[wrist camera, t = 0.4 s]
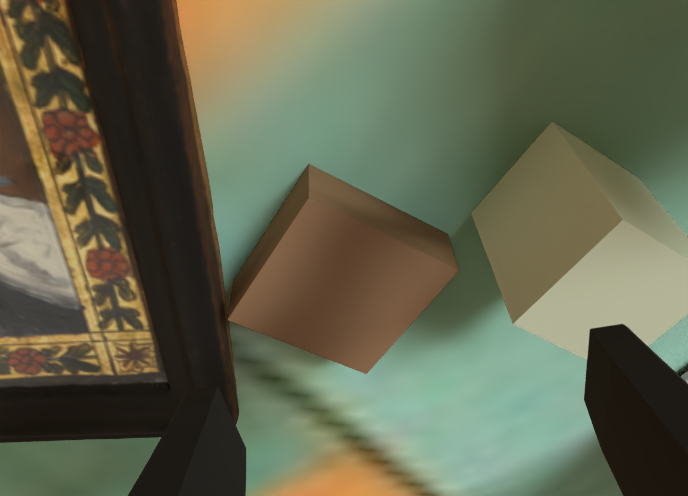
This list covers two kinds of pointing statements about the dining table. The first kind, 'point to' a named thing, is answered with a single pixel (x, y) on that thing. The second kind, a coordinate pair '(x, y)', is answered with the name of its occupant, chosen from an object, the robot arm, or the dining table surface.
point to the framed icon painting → (103, 225)
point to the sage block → (582, 246)
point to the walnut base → (340, 272)
